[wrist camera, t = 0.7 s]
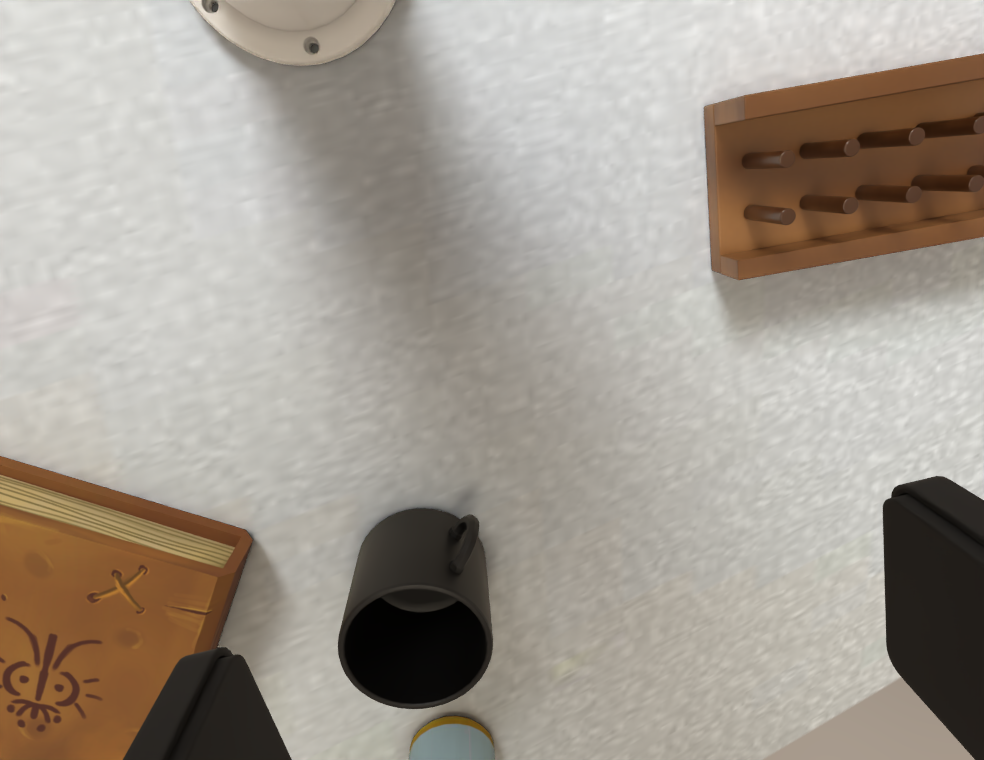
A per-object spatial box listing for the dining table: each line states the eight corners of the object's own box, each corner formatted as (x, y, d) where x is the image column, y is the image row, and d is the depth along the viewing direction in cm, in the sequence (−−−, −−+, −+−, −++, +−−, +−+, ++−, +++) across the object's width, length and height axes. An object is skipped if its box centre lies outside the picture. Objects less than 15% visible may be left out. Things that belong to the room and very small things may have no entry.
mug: (528, 515, 45) (546, 595, 37) (443, 631, 48) (442, 731, 40) (417, 455, 43) (408, 525, 35) (335, 581, 46) (309, 674, 37)
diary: (180, 761, 51) (147, 832, 45) (-66, 704, 47) (-134, 773, 42) (256, 532, 44) (229, 582, 39) (-21, 449, 41) (-93, 491, 36)
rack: (703, 106, 37) (748, 94, 31) (995, 55, 37) (1093, 33, 32) (711, 270, 40) (753, 286, 35) (980, 223, 40) (1066, 230, 35)
